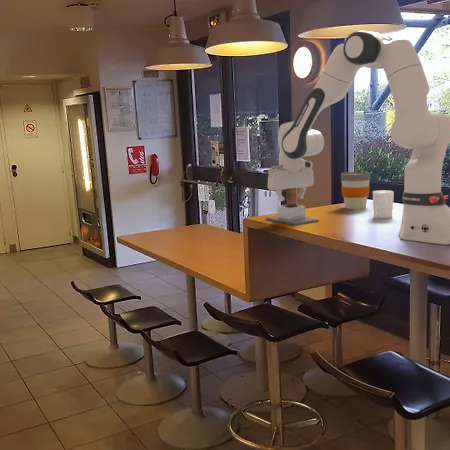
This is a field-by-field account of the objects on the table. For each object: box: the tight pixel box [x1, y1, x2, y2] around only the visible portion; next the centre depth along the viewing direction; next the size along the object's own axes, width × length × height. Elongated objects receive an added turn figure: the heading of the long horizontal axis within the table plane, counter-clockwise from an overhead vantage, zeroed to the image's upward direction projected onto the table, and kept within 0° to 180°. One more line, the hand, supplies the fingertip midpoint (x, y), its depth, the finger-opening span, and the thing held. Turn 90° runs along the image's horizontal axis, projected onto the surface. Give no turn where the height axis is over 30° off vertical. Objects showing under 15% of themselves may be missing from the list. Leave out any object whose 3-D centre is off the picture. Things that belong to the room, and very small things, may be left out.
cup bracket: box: [265, 204, 319, 226], centre depth 217 cm, size 18×12×6 cm, turn 32°
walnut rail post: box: [285, 188, 298, 207], centre depth 216 cm, size 4×4×12 cm
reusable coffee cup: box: [340, 171, 371, 210], centre depth 241 cm, size 12×13×15 cm
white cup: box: [372, 189, 395, 219], centre depth 216 cm, size 8×8×10 cm
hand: (291, 200), depth 216 cm, fingers open, 8 cm apart
